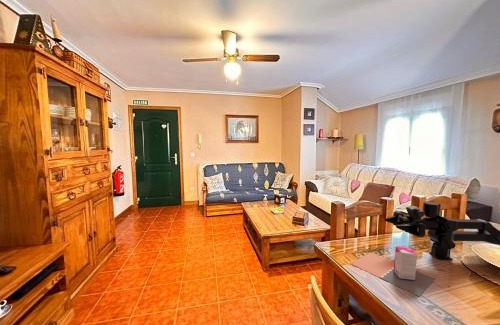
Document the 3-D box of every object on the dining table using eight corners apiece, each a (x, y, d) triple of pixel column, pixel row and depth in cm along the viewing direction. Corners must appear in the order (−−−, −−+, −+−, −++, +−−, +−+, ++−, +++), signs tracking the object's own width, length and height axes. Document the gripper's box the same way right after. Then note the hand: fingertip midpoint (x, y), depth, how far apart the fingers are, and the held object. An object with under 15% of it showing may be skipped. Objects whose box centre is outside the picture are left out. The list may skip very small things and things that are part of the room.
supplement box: (415, 281, 87) (417, 254, 86) (399, 279, 88) (401, 252, 87) (408, 273, 93) (410, 247, 92) (392, 271, 94) (394, 245, 93)
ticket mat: (435, 278, 89) (435, 278, 89) (419, 296, 79) (419, 295, 79) (370, 252, 110) (370, 251, 110) (350, 263, 100) (350, 263, 100)
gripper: (410, 201, 114) (380, 201, 114) (440, 213, 95) (404, 213, 96) (408, 222, 115) (378, 222, 115) (438, 238, 96) (402, 237, 97)
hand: (390, 223), depth 106 cm, fingers open, 9 cm apart
